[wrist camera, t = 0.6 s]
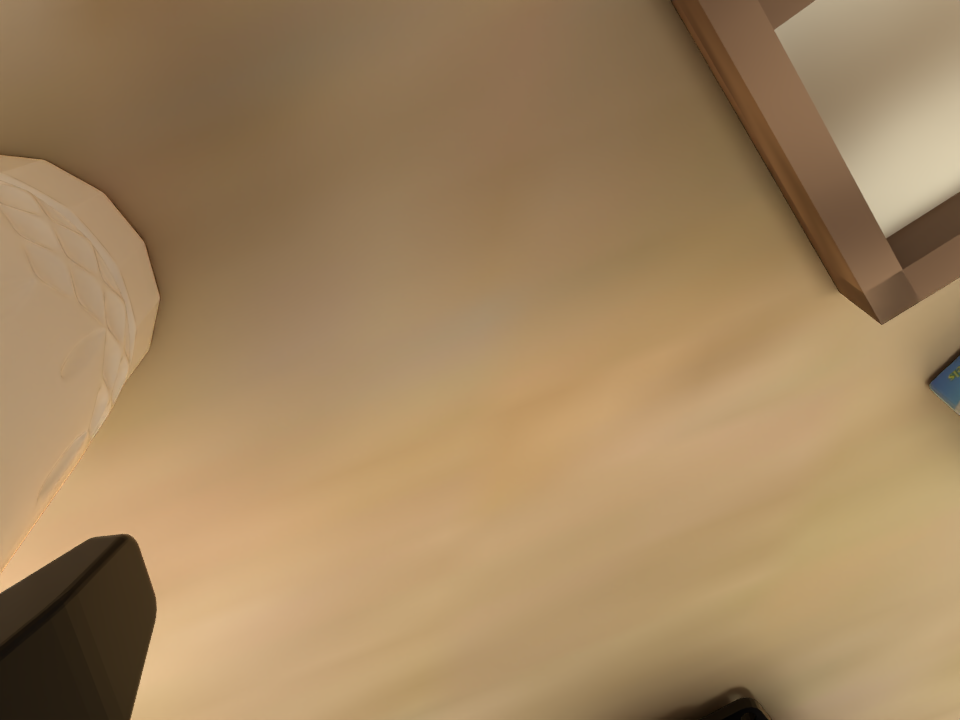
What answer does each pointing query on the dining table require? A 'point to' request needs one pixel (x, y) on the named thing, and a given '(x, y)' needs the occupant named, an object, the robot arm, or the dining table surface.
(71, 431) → the white cup
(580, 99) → the dining table surface
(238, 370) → the dining table surface
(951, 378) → the medicine box
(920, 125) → the tray
